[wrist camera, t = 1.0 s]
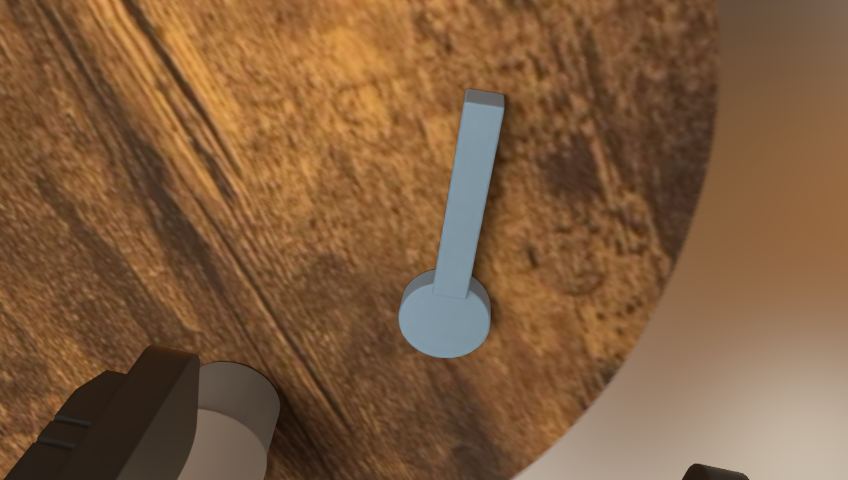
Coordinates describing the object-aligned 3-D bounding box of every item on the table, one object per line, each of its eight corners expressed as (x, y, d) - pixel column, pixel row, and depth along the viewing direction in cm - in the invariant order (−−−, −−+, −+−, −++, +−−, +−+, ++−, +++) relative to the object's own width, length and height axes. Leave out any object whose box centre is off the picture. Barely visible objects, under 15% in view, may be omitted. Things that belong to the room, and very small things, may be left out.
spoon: (433, 82, 25) (429, 95, 23) (537, 99, 25) (540, 113, 23) (396, 333, 30) (392, 356, 29) (482, 348, 30) (481, 371, 29)
